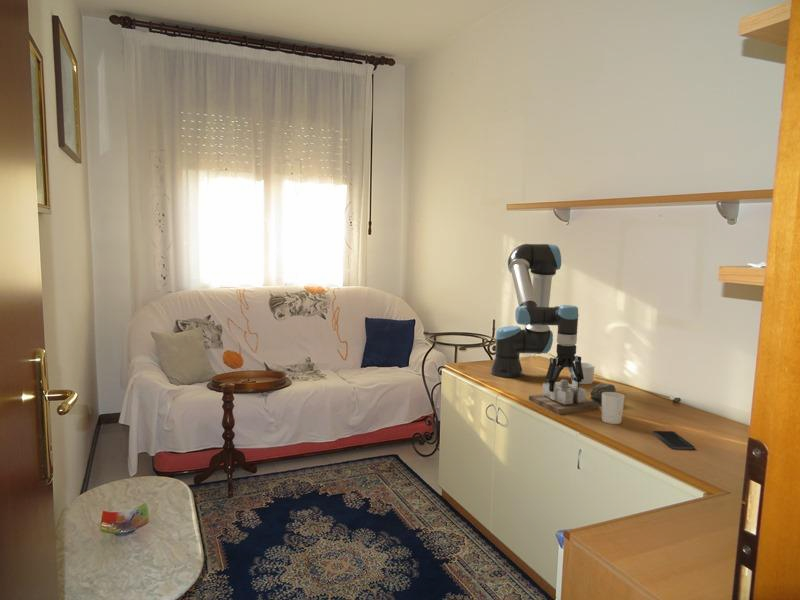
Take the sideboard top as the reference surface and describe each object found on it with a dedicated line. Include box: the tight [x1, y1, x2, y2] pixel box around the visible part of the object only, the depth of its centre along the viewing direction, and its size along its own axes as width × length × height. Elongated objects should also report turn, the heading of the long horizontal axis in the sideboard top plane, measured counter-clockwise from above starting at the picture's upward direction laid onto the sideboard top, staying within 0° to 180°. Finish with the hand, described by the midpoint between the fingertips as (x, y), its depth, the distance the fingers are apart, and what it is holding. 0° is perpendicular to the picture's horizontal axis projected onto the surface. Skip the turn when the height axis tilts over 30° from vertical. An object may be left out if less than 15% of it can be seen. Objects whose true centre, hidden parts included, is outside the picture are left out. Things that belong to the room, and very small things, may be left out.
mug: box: [566, 361, 595, 385], centre depth 262 cm, size 13×10×8 cm
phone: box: [652, 430, 695, 451], centre depth 186 cm, size 8×1×15 cm
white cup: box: [601, 392, 626, 425], centre depth 205 cm, size 8×8×10 cm
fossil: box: [589, 382, 617, 406], centre depth 229 cm, size 11×9×10 cm
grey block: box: [542, 380, 587, 405], centre depth 224 cm, size 14×10×5 cm
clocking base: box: [528, 379, 601, 415], centre depth 224 cm, size 19×20×10 cm
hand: (563, 398), depth 224 cm, fingers closed on grey block, 10 cm apart
